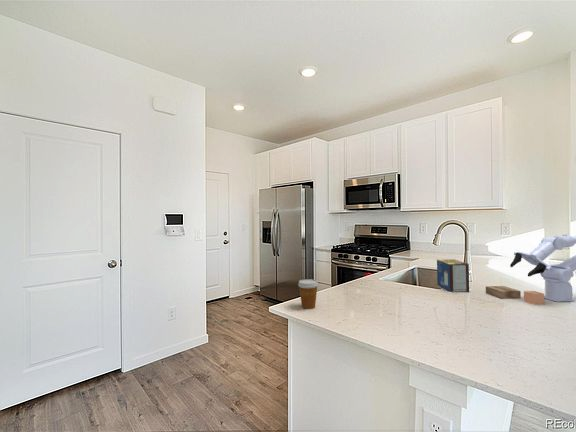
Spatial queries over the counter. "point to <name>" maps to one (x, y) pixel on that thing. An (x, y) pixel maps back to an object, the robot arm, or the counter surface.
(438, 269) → the protein box
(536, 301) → the terracotta block
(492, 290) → the walnut base
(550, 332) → the counter surface
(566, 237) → the robot arm
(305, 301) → the disposable coffee cup
